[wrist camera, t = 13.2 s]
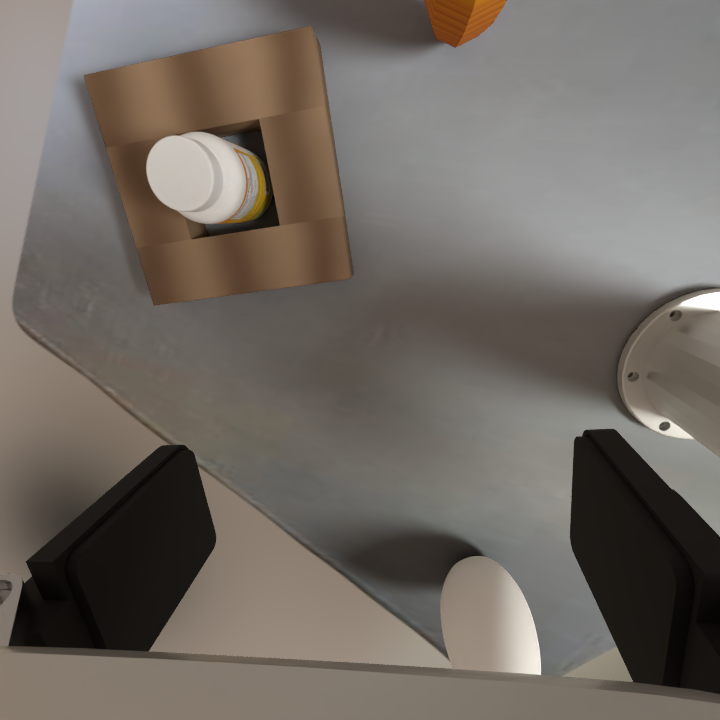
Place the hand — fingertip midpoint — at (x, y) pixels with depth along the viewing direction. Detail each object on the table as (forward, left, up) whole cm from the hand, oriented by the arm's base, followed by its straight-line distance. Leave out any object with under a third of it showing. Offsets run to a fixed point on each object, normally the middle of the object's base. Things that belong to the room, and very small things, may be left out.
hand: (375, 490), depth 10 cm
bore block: (+11, -10, -26) cm, 30 cm away
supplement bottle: (+11, -10, -26) cm, 30 cm away
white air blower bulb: (-5, +29, -26) cm, 39 cm away
